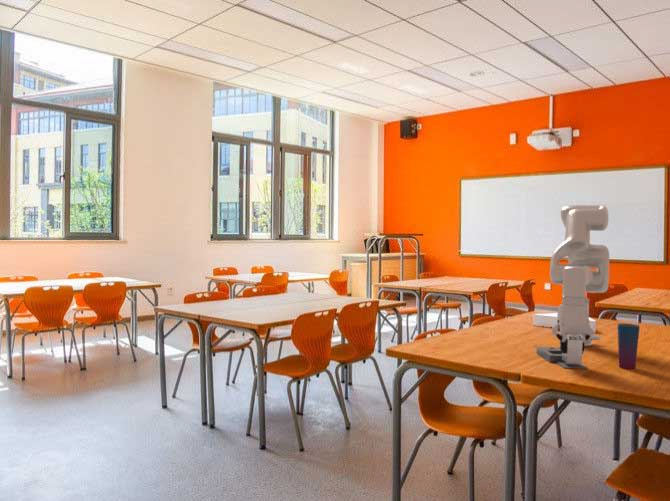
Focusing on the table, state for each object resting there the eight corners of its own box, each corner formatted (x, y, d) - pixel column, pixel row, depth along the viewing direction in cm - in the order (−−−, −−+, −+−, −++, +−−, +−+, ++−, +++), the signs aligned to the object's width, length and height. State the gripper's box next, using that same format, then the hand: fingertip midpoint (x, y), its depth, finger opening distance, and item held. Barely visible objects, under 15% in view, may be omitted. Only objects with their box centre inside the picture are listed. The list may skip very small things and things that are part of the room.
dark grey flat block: (562, 354, 215) (563, 347, 215) (577, 363, 200) (578, 355, 200) (536, 353, 216) (536, 346, 216) (549, 362, 201) (549, 354, 201)
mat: (578, 363, 199) (578, 362, 199) (587, 369, 191) (587, 368, 191) (556, 363, 200) (556, 361, 200) (564, 368, 192) (564, 367, 192)
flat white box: (532, 326, 283) (533, 314, 283) (551, 321, 303) (551, 309, 303) (595, 334, 264) (595, 321, 264) (610, 327, 284) (611, 315, 283)
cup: (612, 365, 198) (613, 323, 197) (630, 365, 198) (631, 323, 198) (623, 370, 191) (625, 326, 190) (642, 370, 191) (644, 326, 191)
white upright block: (576, 359, 198) (577, 335, 198) (581, 363, 193) (582, 338, 193) (562, 359, 198) (562, 335, 198) (567, 362, 193) (567, 338, 193)
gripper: (594, 300, 198) (592, 351, 199) (545, 299, 199) (543, 350, 200) (603, 303, 191) (601, 356, 191) (552, 302, 192) (550, 354, 192)
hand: (572, 352), depth 195 cm, fingers closed on white upright block, 5 cm apart
